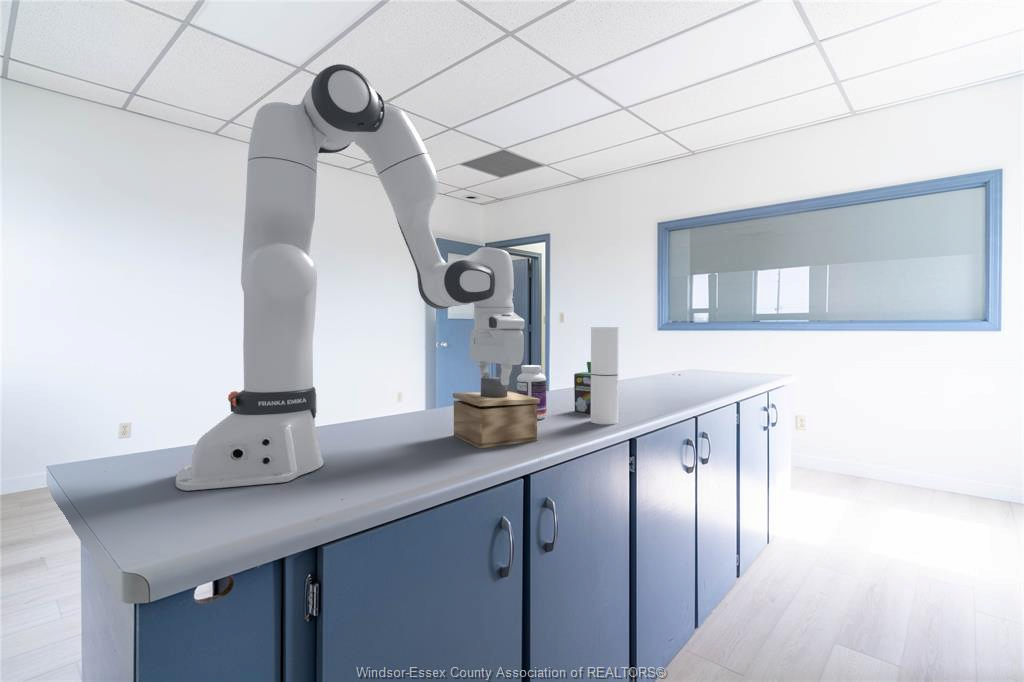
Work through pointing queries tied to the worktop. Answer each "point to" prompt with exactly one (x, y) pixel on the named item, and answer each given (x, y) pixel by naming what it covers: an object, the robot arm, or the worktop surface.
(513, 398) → the lid
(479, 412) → the box
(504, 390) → the smooth gray rounded object
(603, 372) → the cylindrical container
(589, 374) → the chalk box
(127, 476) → the worktop surface
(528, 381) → the pill bottle
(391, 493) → the worktop surface
